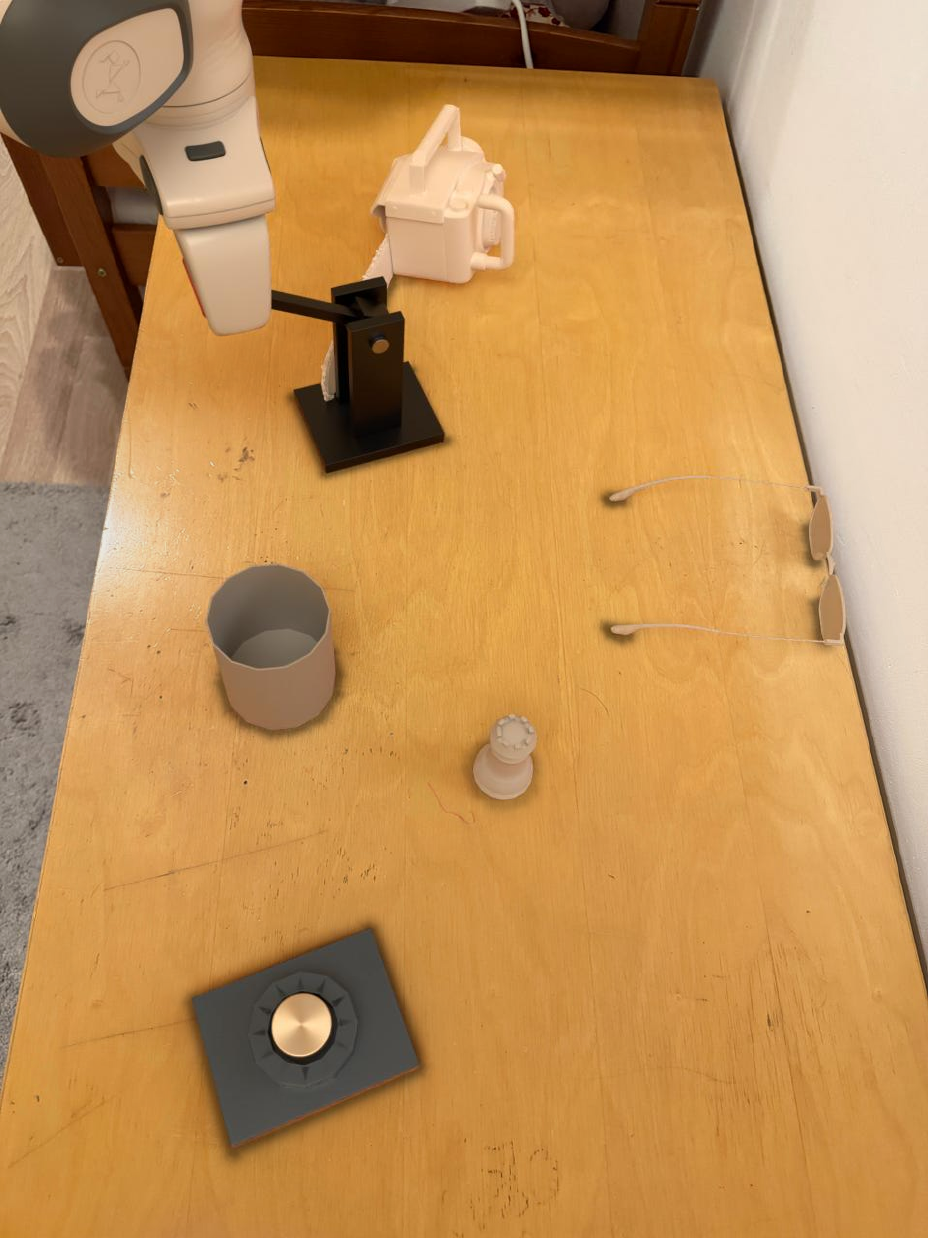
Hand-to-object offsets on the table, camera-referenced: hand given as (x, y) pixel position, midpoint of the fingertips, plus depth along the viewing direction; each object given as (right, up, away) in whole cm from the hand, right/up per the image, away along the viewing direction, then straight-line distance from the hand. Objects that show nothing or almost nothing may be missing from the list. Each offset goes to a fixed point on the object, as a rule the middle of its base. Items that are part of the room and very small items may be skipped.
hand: (210, 290), depth 72 cm
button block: (+8, -50, -6) cm, 51 cm away
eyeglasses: (+39, -20, +14) cm, 46 cm away
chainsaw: (+15, +8, +27) cm, 32 cm away
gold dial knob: (+8, -49, -10) cm, 50 cm away
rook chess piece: (+21, -35, +4) cm, 41 cm away
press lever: (+5, 0, +5) cm, 7 cm away
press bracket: (+9, -5, +19) cm, 22 cm away
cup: (+4, -28, +6) cm, 29 cm away
